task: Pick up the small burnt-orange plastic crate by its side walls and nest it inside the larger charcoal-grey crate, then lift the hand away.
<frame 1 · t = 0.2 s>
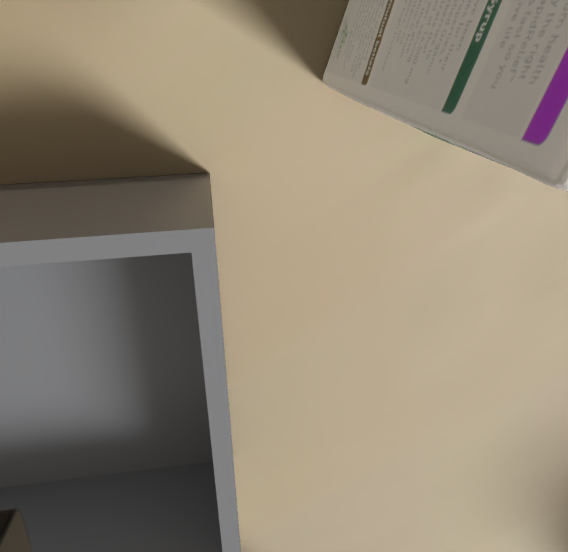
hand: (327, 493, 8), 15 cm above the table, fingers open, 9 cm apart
grey crate: (26, 352, 23), on the table
syrup box: (414, 28, 20), on the table
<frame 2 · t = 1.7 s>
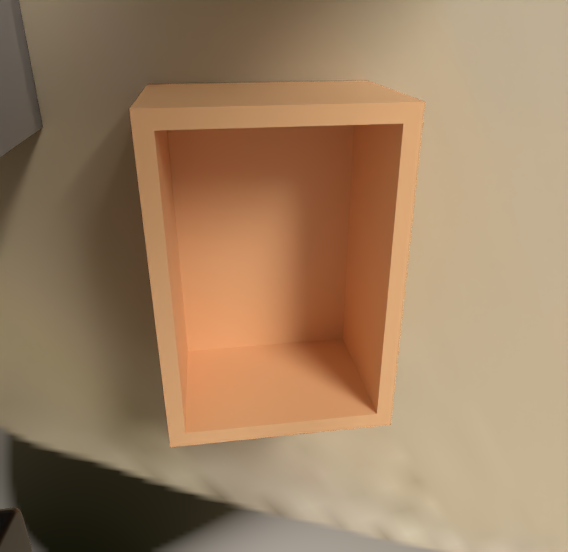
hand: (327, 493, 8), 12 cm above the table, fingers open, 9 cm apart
orange crate: (263, 230, 19), on the table
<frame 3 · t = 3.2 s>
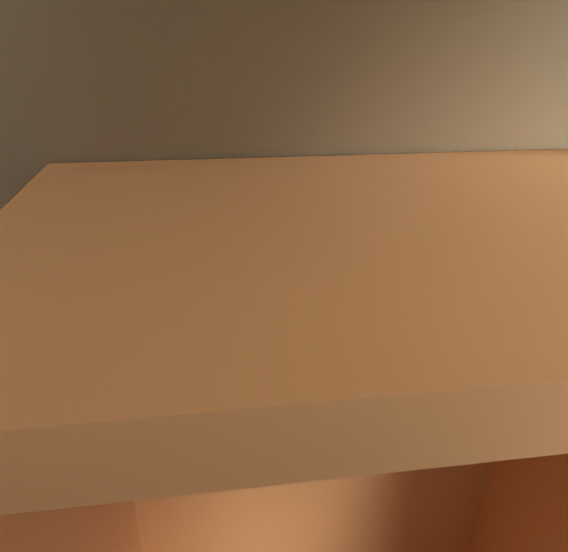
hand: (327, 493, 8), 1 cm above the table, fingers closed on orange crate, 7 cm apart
orange crate: (314, 446, 9), on the table, touching gripper
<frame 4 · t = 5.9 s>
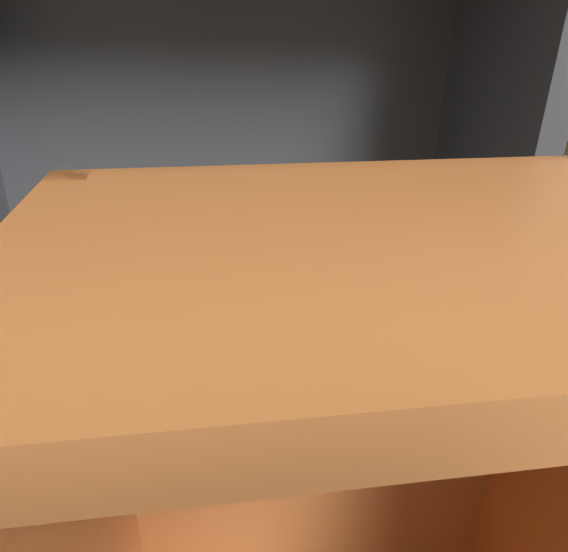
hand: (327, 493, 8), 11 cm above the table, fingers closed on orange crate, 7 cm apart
orange crate: (314, 450, 9), point 10 cm above the table, touching gripper
grey crate: (228, 207, 18), on the table
when the fingers open (3 cm above the table, at t = 8.4 s): orange crate drops 2 cm, resting on grey crate.
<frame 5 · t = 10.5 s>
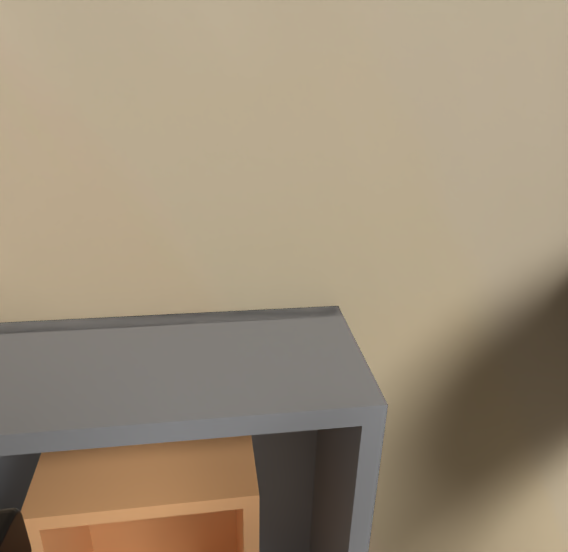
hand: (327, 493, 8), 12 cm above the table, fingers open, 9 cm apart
orange crate: (163, 497, 23), point 1 cm above the table, touching grey crate
grey crate: (162, 481, 23), on the table
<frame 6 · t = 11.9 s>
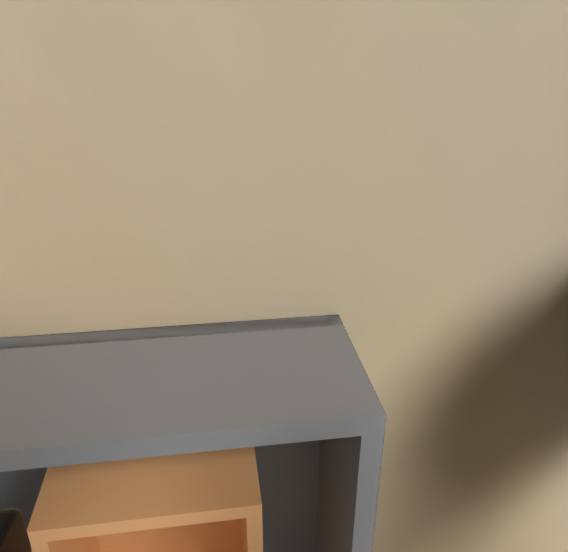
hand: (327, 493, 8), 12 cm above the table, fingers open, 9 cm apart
orange crate: (169, 504, 23), point 1 cm above the table, touching grey crate
grey crate: (169, 488, 24), on the table
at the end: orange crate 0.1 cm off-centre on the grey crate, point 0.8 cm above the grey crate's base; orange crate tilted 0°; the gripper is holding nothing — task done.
